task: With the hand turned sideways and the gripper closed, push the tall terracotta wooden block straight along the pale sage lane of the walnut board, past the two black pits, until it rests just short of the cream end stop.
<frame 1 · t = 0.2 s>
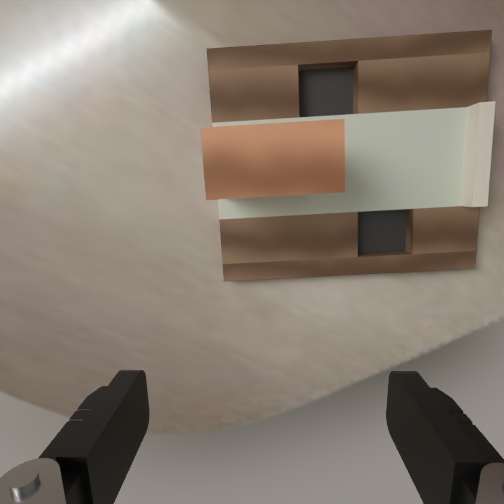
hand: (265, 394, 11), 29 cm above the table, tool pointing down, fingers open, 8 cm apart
block: (267, 169, 36), point 2 cm above the table, touching lane board
lane board: (343, 165, 37), on the table
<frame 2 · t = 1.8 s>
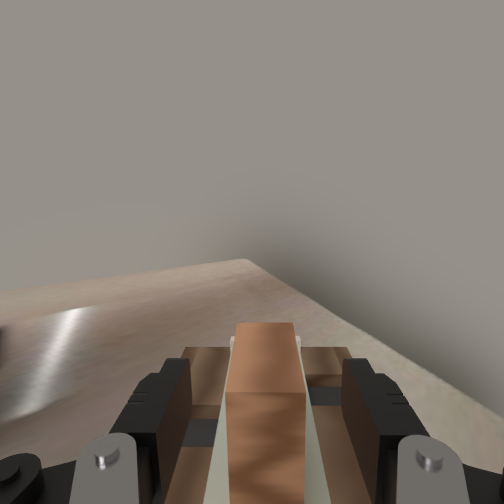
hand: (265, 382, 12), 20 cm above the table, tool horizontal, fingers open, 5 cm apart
block: (266, 480, 28), point 2 cm above the table, touching lane board
lane board: (266, 427, 37), on the table
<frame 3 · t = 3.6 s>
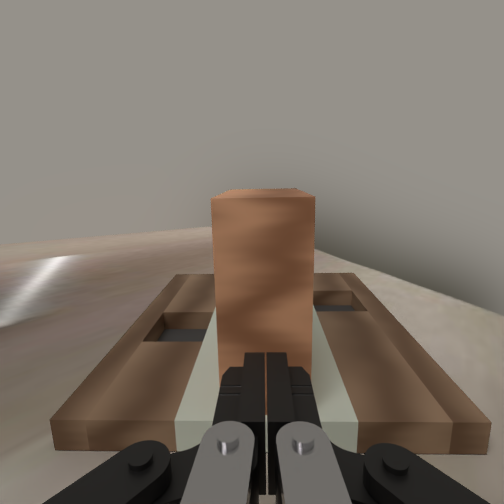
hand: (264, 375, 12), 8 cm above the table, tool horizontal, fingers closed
block: (264, 365, 24), point 2 cm above the table, touching lane board
lane board: (264, 335, 32), on the table
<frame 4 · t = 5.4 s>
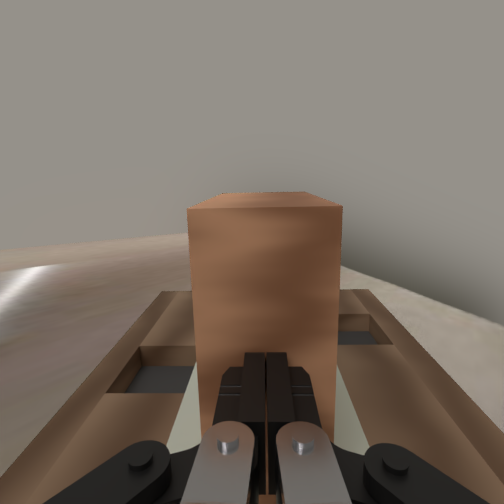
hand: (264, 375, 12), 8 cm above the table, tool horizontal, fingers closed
block: (266, 420, 18), point 2 cm above the table, touching lane board
lane board: (265, 375, 26), on the table
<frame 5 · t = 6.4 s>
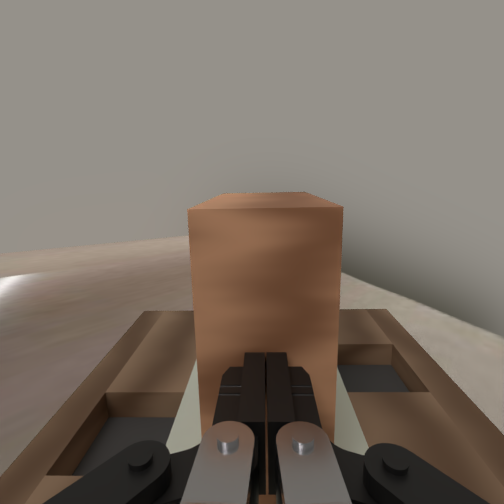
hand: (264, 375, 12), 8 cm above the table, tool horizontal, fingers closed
block: (266, 420, 18), point 2 cm above the table, touching gripper, lane board
lane board: (265, 432, 20), on the table
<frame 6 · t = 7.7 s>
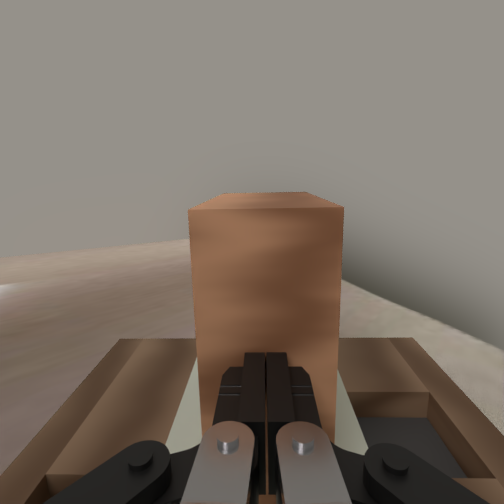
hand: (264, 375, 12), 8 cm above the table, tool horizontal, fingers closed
block: (267, 420, 18), point 2 cm above the table, touching gripper
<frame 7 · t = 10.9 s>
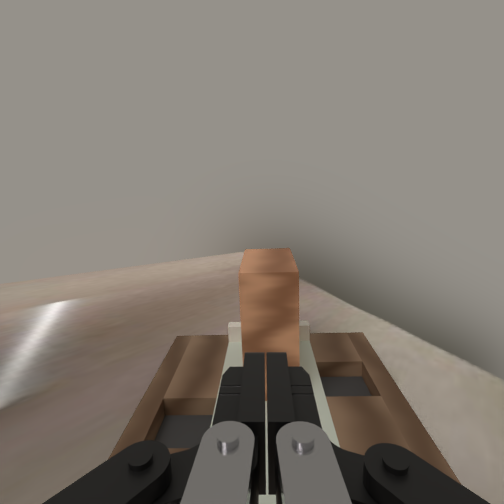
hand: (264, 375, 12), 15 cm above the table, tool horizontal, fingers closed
block: (271, 370, 35), point 2 cm above the table, touching lane board
lane board: (271, 423, 30), on the table
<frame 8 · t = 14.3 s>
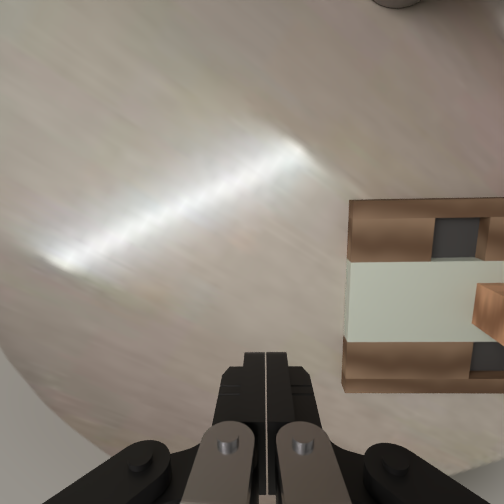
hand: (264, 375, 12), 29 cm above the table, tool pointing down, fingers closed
lane board: (460, 296, 41), on the table
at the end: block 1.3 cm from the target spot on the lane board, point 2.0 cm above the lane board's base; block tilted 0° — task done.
